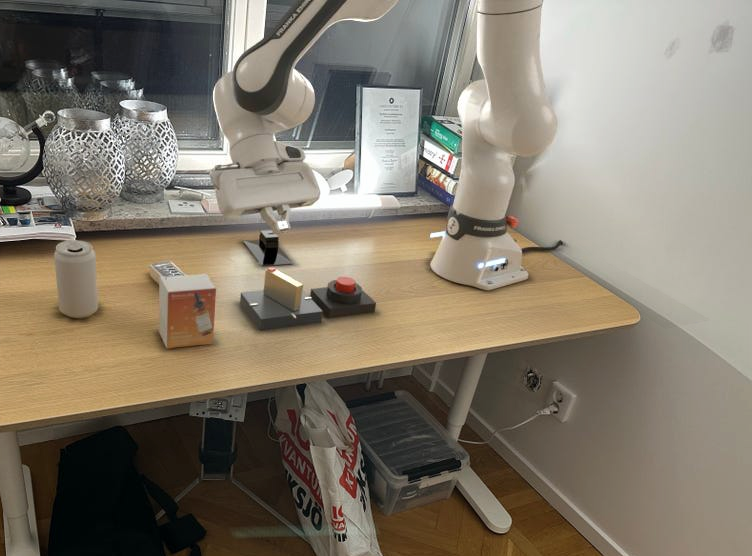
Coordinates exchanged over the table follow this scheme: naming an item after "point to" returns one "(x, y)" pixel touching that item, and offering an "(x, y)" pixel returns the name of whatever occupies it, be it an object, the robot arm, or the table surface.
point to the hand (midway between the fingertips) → (282, 232)
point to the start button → (345, 284)
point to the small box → (186, 310)
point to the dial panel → (278, 311)
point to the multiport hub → (164, 270)
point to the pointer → (283, 289)
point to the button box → (342, 301)
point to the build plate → (268, 250)
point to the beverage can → (76, 278)
